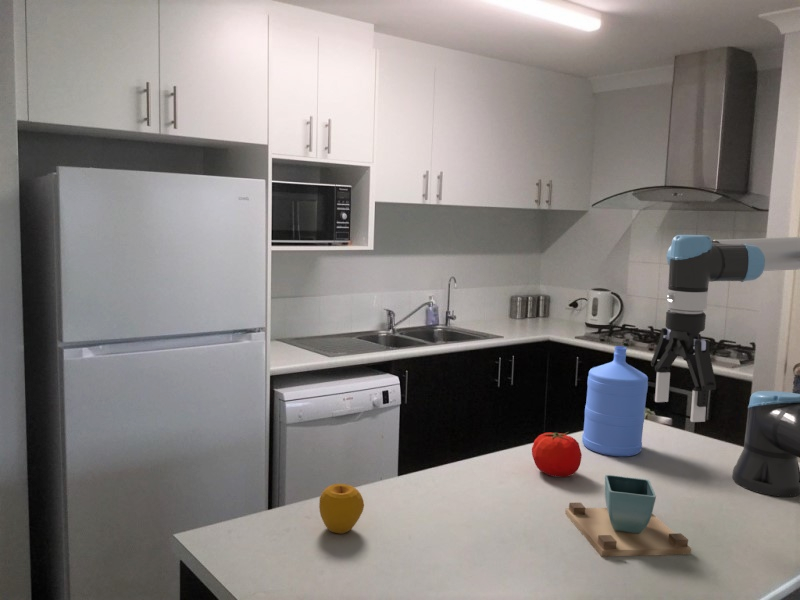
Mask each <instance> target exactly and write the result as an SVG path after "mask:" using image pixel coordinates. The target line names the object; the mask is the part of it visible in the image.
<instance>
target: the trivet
mask: <svg viewBox="0 0 800 600" xmlns="http://www.w3.org/2000/svg"><path fill="white" fill-rule="evenodd" d="M565 515H566V517H567V518H568V519H569V520H570V521H571V522H572V523H573V525H574V526H575V527H576V528H577V530H578V531H579V532H580V533H581V534H582V536H584V538H585V539H586V540H587V542H588V543H589V544H590V545H591V546H592V547H593V548H594V550H595V551H596V552H597V553H598V554H599V556H600V557H601V558H602V557H630V556H631V557H632V556H634V557H635V556H665V555H667V556H670V555H671V556H672V555H675V556H676V555H691V553H692V547H691V546H690V545H689V538H687V537H686V536H685V535H683V533H680V532H679V533H675V532H674V531H673V530H671V529H670V528H669V526H667V525H666V524H665V523H664V522H662V520H661V519H659V518H658V517H657V516H656V515H655V514H653V513H652V515H651V518H650V521H649V523H648V525H647V526H646V527H645V529H644V530H643V531H642V532H641V533H632V532H624V531H616V530H614V529H613V527H612V525H611V522H610V518H609V514H608V510H607V507H585V505H583V503H582V502H569V504H568V508H565Z"/></svg>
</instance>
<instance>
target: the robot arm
mask: <svg viewBox="0 0 800 600" xmlns="http://www.w3.org/2000/svg"><path fill="white" fill-rule="evenodd" d="M666 260H667V264H668V266H669V269H668V270H669V272H668V285H667V286H668V287H667V288H668V290H667V296H666V299H667V301H666V307H667V308H668V310H667V311H666V314H665V325H664V326H665V327H664V328H663V327H662V328H661V329H660V330H661V331H660V337H659V340H658V343H657V345H656V348H655V349H654V350H655V351H654V353H653V355H652V356H653V357H652V358H651V361H650V365H651V367H654V371H655V372H656V374H655V375H656V378H655V394H654V402H655V403H665V402H666V403H668V402H669V397H670V395H669V394H670V383H671V382H670V381H671V380H670V379H671V371H672V370H671V366H672V365H673V363H674V362H675V361H676V359H677V358H678V357H679V356H680V357H682V359H683V361H685V362H686V364H687V367H688V370H689V372H690V375H691V379H692V382H693V384H694V387H693V389H692V393H691V395H692V396H691V408H690V420H689V421H690V422H691V423H701V422H704V423H705V422H706V411H707V405H708V398H709V397H708V396H709V395H708V394H709V391H713V390H716V389H717V382H716V378H715V374H714V373H715V372H714V367H713V363H712V358H711V353H710V340H709V339H700V333H701V332H704V331H705V329H706V319H707V317H706V316H707V314H706V313H705V311H707V308H708V292H709V283H710V282H740V283H743V282H748V281H755V280H757V279H758V278H760V277H761V276H762V274H764V272H767V271H768V272H772V271H794V270H795V271H796V270H798V271H799V270H800V236H791V237H790V236H789V237H786V236H785V237H767V238H766V237H763V238H756V237H755V238H735V239H733V238H730V239H712V237H711V236H710V235H702V234H677V235H675V236H674V237H673V238H672V240H671V245H670V246H669V247H668V250H667V253H666ZM746 415H747V417H746V424H745V434H744V444H743V449H742V451H741V454H740V455H739V458H738V459H737V462H736V463H735V465H734V466H733V469H732V475H731V477H732V480H733V482H735V483H736V484H737V485H739V486H740V487H743V488H745V489H747V490H749V491H753V492H756V493H759V494H764V495H768V496H775V497H784V498H786V497H787V498H788V497H789V498H790V497H796V496H799V495H800V465H799V459H800V393H797V392H796V393H795V392H790V391H789V392H788V391H777V390H760V391H755V392H753V393H752V394H751V396H750V397H749V404H748V406H747V414H746Z"/></svg>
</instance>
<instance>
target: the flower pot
mask: <svg viewBox="0 0 800 600" xmlns="http://www.w3.org/2000/svg"><path fill="white" fill-rule="evenodd" d="M656 498H657V495H656V493H655V491H654V488H653V486H652V483H651V481H650V479H645V478H637V477H628V476H627V477H626V476H620V475H619V476H618V475H614V474H613V475H611V474H605V475H604V500H605V505H606V508H607V510H608V514H609V518H610V522H611V525H612V527H613V529H614V530H616V531H624V532H632V533H641V532H642V531H643V530H644V529H645V527H646V526H647V525H648V523H649V521H650V518H651V515H652V514H653V511H654V507H655V503H656Z"/></svg>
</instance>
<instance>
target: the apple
mask: <svg viewBox="0 0 800 600" xmlns="http://www.w3.org/2000/svg"><path fill="white" fill-rule="evenodd" d="M318 503H319V509H318V510H319V513H320V517H321V520H322V522H323V524H324V526H325V528H327V529H328V531H330V532H332V533H335V534H340V535H341V534H342V535H343V534H346V533H348V532H350V530H351V531H352V529H353V528H354V527H355V525H356V524H357V522H358V521H359V519H360V518H361V515H362V514H363V512H364V507H365V504H364V499H363V496H362V494H361V492H360V491H359V490H358V489H357V487H356V488H355V487H354V486H352V485H350V484H344V483H334V484H331V485H329V486H327V487H326V488H324V490H323V491H322V492H321V495H320V496H319V502H318Z"/></svg>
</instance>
